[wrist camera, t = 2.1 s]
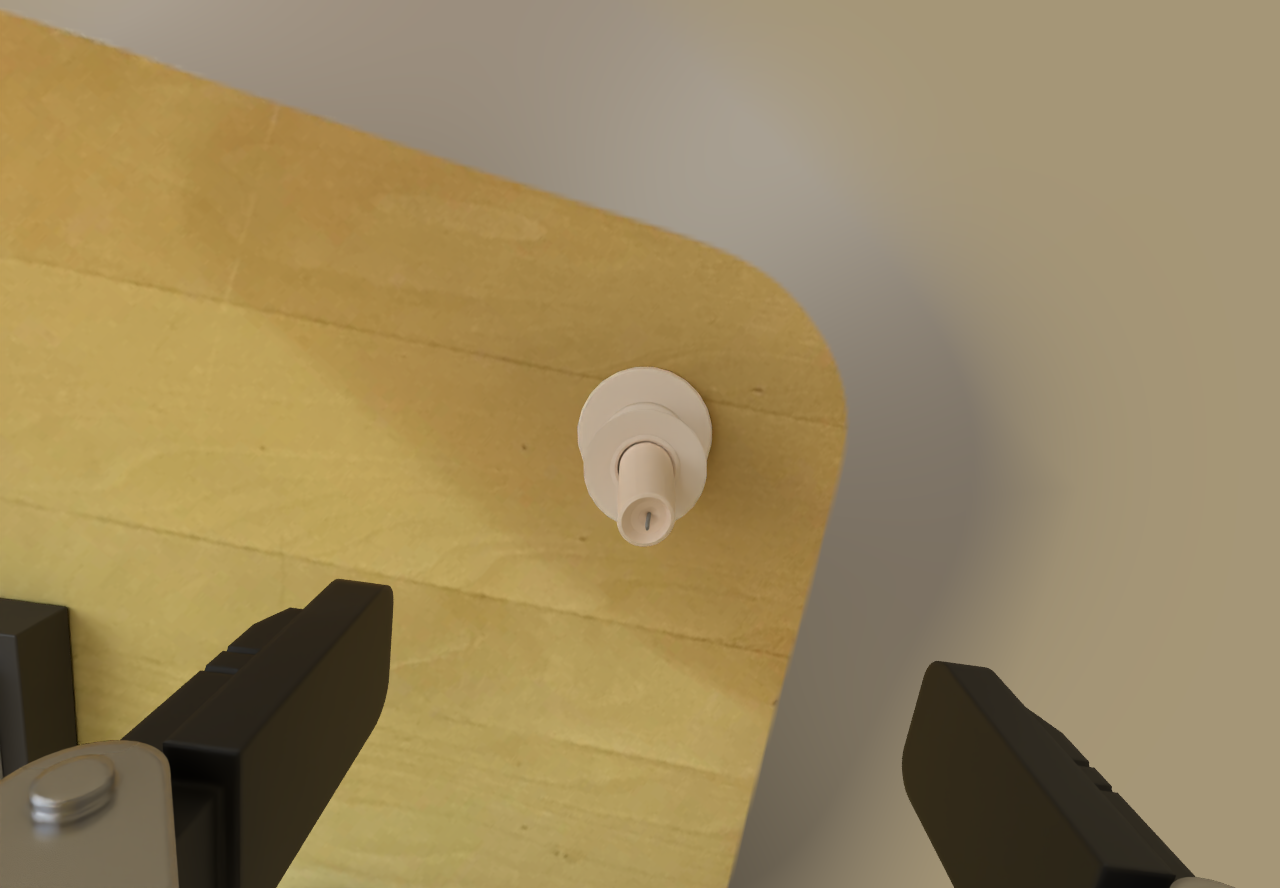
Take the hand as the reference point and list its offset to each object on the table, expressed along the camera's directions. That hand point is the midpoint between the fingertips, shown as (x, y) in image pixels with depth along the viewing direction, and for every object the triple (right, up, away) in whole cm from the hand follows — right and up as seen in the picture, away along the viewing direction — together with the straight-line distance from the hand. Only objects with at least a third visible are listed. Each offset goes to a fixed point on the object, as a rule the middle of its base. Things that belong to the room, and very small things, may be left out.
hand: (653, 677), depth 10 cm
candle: (0, +4, +16) cm, 17 cm away
